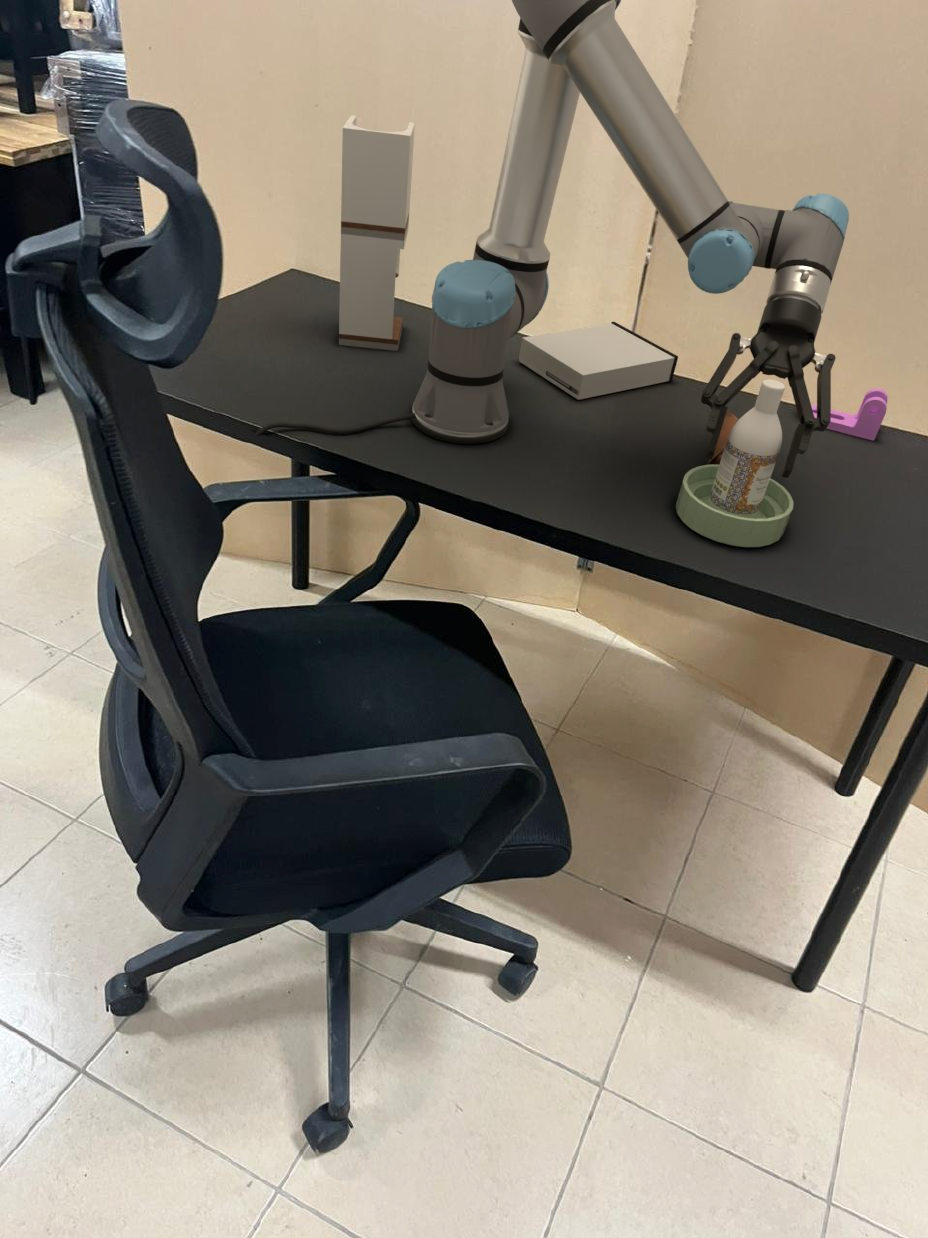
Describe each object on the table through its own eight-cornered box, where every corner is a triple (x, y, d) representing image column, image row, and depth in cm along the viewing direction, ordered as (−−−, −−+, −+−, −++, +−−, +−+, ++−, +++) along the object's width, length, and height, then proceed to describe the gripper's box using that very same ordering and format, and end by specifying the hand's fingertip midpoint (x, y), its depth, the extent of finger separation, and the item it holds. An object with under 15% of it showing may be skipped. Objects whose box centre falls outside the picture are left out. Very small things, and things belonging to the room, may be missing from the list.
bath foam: (730, 534, 123) (776, 398, 111) (694, 510, 127) (735, 376, 115) (764, 523, 126) (812, 390, 114) (728, 500, 131) (771, 369, 118)
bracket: (875, 428, 157) (891, 391, 153) (873, 440, 153) (890, 402, 149) (800, 409, 161) (814, 372, 156) (797, 420, 156) (810, 383, 152)
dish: (681, 540, 121) (690, 512, 118) (669, 485, 133) (677, 458, 130) (793, 555, 121) (804, 527, 118) (771, 498, 133) (781, 471, 130)
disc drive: (672, 382, 164) (679, 355, 161) (578, 401, 153) (584, 373, 150) (609, 346, 175) (614, 321, 172) (517, 362, 164) (521, 335, 161)
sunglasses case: (762, 486, 135) (750, 446, 132) (715, 497, 138) (703, 459, 135) (766, 437, 149) (756, 400, 146) (723, 448, 152) (712, 412, 149)
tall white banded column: (397, 350, 162) (410, 135, 141) (338, 344, 162) (342, 127, 140) (402, 328, 171) (414, 122, 150) (346, 322, 171) (351, 114, 149)
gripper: (715, 278, 119) (667, 434, 117) (886, 313, 115) (840, 476, 113) (709, 306, 127) (664, 453, 124) (869, 340, 122) (826, 494, 120)
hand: (748, 464), depth 118 cm, fingers open, 9 cm apart
